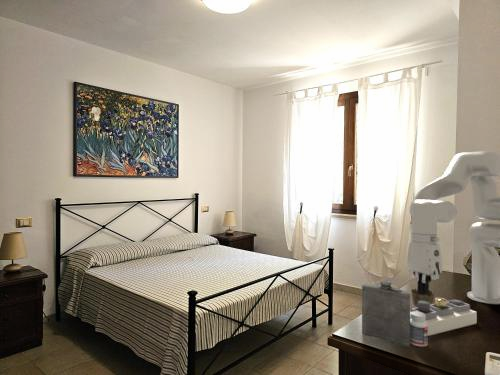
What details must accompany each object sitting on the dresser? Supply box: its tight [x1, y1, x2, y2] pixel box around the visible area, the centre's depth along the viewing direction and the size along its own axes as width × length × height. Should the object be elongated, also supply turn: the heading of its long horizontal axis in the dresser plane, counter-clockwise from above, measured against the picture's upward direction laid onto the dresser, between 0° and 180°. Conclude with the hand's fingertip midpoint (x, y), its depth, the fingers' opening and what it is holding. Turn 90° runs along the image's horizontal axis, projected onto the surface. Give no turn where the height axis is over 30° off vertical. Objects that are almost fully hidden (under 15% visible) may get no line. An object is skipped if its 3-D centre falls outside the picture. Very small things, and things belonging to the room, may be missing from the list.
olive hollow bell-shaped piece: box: [410, 288, 435, 308], centre depth 123 cm, size 8×7×8 cm
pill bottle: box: [410, 311, 429, 348], centre depth 101 cm, size 5×5×9 cm
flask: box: [361, 279, 411, 347], centre depth 103 cm, size 4×14×18 cm, turn 52°
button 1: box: [418, 301, 430, 313], centre depth 110 cm, size 4×4×3 cm
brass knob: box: [434, 297, 448, 309], centre depth 113 cm, size 4×4×3 cm
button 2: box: [451, 299, 464, 306], centre depth 116 cm, size 4×4×3 cm
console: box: [410, 299, 478, 337], centre depth 113 cm, size 23×9×6 cm, turn 112°
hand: (423, 293), depth 110 cm, fingers closed
